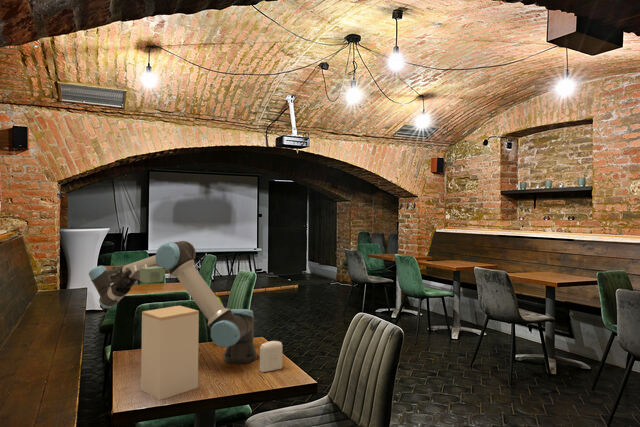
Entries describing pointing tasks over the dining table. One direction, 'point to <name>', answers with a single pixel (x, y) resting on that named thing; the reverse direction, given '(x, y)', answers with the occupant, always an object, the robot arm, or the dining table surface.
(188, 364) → the pedestal
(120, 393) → the dining table surface
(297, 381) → the dining table surface
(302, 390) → the dining table surface
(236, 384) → the dining table surface
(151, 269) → the bar
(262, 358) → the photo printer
